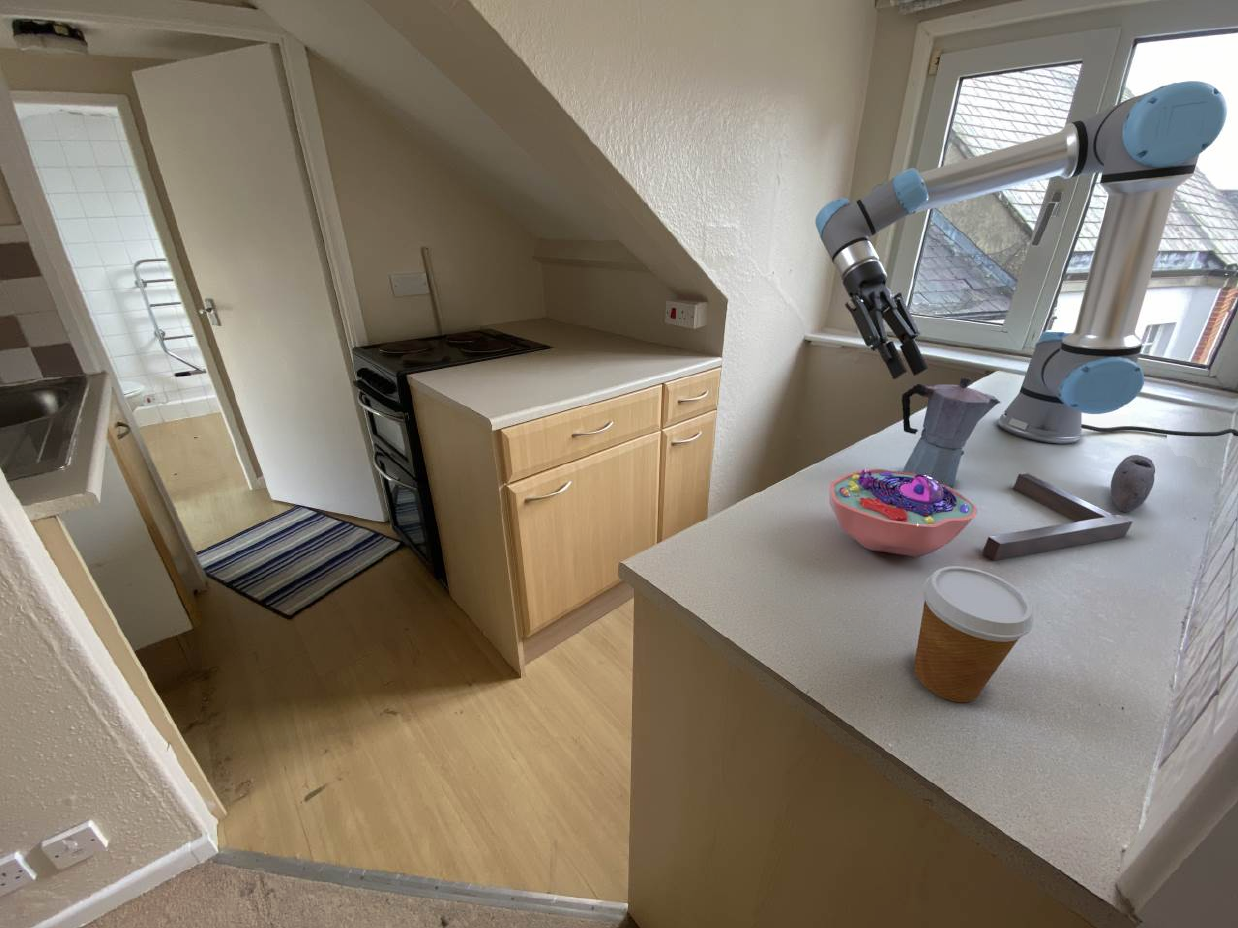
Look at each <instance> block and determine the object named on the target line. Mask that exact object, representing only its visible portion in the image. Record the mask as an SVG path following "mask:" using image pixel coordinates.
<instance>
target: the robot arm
mask: <svg viewBox="0 0 1238 928" xmlns="http://www.w3.org/2000/svg"><path fill="white" fill-rule="evenodd" d="M1227 115H1228V107H1227V102H1226V99H1225V97H1224V95H1223V94H1222V92H1221V91H1219V90H1218V88H1216V87H1215V86H1214V85H1213V84H1211V83H1207V82H1204V81H1197V80H1189V81H1181V82H1173V83H1170V84H1167V85H1162V86H1159V87H1156V88H1154V89H1153V90H1151V91H1147V92H1145V93H1142V94H1140V95H1137V96H1134V97H1130V98H1128V99H1126V100H1124V101H1122V102H1120V103H1117V104H1115V105H1113V106H1111V107H1108V108H1106V109H1105V110H1102V111H1100V112H1098V113H1095V114H1092V115H1090V116H1087V117H1085V118H1081V119H1079V120H1076V121H1071V122H1068V123H1066V124H1065V125H1064V126H1063V127H1062V129H1060V130H1059V131H1057V132H1054V133H1051V134H1048V135H1044V136H1041V137H1037V138H1034V139H1030V140H1027V141H1024V142H1021V143H1017V144H1014V145H1010V146H1007V147H1004V148H1000V149H997V150H994V151H990V152H987V153H983V154H980V155H976V156H974V157H973V156H972V157H969V158H966V159H963V160H959V161H956V162H952V163H949V164H946V165H942V166H939V167H935V168H932V169H929V170H926V171H922V172H919V171H918V170H917V168H914V167H911V168H908V169H906V170H905V171H903V172H901V173H898V174H896V175H895V176H893V177H892V178H891V179H889V180H888V181H886V182H883V183H880V184H877V185H876V186H875V187H873V188H872V190H871V191H870V192H868V194H866V195H865V196H863V197H861V198H859V199H857V200H856V201H853V202H850V200H849V199H848V198H846V197H840V198H837V199H836V200H831V201H830V202H828V203H827V204H825V205H824V206H822V208H821V209H820V210H819V211H818V213H817V214H816V217H815V222H814V223H815V227H816V230H817V232H818V235H819V238H820V240H821V242H822V244H823V246H824V248H825V250H826V252H827V253H828V256H829V258H830V260H831V262H832V264H833V265H834V267H835V269H836V271H837V274H838V276H839V278H840V280H841V281H842V285H843V288H844V289H845V291H846V293H847V296H848V297H849V298H850V299H849V300H848V301H846V302H845V304H844V306H845V308H846V309H847V310H848V312H849V313H850V314H851V316H852V318H853V320H854V322H855V325H856V327H857V330H858V331H859V334H860V335H861V337H862V340H863V342H864V344H865V346H867V347H868V348H869V347H870V349H871V351H873V352H875V351H878V353H879V355H880V357H881V360H882V361H883V362H884V363H885V365H886V367H887V370H888V372H889V374H890V375H891V378H892V380H896V379H898V378H899V377H901V376H902V375H904V374H906V373H907V372H908V370H907V368H906V366H905V364H904V361H903V360H902V358H901V355H900V353H899V351H898V349H897V348H896V345H895V343H894V341H893V340H891V341H889V337H888V334H887V331H886V327H885V323H884V322H886V324H887V326H888V327H889V328H890V329H891V331H892V333H893V334H894V336H896V338H897V340H898V341H899V342H900V343H901V345H900V346H899V349H900V350H901V353H902V354H903V356H904V359H905V360H906V363H907V365H908V367H909V369H910V371H911V373H912V375H913V377H914V376H915V377H916V376H918V375H919V374H921V373H923V372H924V371H926V370H929V367H928V365H927V364H926V361H925V359H924V357H923V355H922V352H921V350H920V348H919V346H918V343H917V342H916V338H918V337H919V336H920V335H921V331H920V329H919V327H918V325H917V323H916V321H915V320H914V318H913V315H912V314H911V311H910V310H909V308H908V306H907V304H906V301H905V296H904V294H903V292H900V291H899V292H898V293H896V294H894V293H892V291H891V290H890V289H889V288H888V287H887V286H886V282H887V281H888V274H887V272H886V270H885V268H884V266H883V264H882V262H881V261H879V259H880V257H879V256H878V254H877V252H876V250H875V248H874V246H873V245H872V242H871V240H870V239H869V238H871V237H872V236H874V235H876V234H877V233H880V232H881V231H882V230H885V229H886V228H888V227H890V226H892V225H893V224H895V223H896V222H899V221H900V220H901V219H903V218H905V217H907V216H911V215H913V214H917V213H921V212H924V211H928V210H931V209H936V208H940V207H943V206H947V205H952V204H955V203H959V202H963V201H967V200H970V199H975V198H978V197H981V196H982V197H983V196H986V195H988V194H993V193H997V192H1000V191H1005V190H1009V189H1012V188H1016V187H1019V186H1024V185H1028V184H1031V183H1035V182H1039V181H1043V180H1046V179H1051V178H1054V177H1058V176H1059V177H1061V178H1063V179H1065V180H1067V179H1071V178H1075V177H1080V176H1083V175H1089V174H1090V175H1091V174H1098V173H1101V175H1100V181H1099V187H1100V188H1101V189H1102V190H1103V191H1105V192H1106V196H1107V198H1106V201H1105V205H1104V208H1103V209H1104V210H1103V214H1102V218H1101V222H1100V227H1099V231H1098V234H1097V238H1096V242H1095V246H1094V250H1093V255H1092V258H1091V261H1090V262H1091V263H1090V265H1089V266H1090V267H1089V270H1088V274H1087V278H1086V283H1085V287H1084V291H1083V294H1082V299H1081V303H1080V306H1079V307H1080V308H1079V311H1078V315H1077V320H1076V324H1075V327H1074V330H1060V329H1048V330H1045V331H1042V333H1040V335H1039V338H1038V340H1037V342H1036V343H1035V345H1034V346H1035V347H1034V350H1033V352H1032V356H1031V359H1030V362H1029V364H1028V367H1027V369H1026V372H1025V375H1024V378H1023V381H1022V383H1021V386H1020V389H1019V392H1018V394H1017V395H1016V396H1015V397H1014V398H1013V400H1012V401H1011V403H1010V404H1009V405H1008V406H1007V407H1006V408H1005V410H1004V411H1003V412H1002V413H1001V415H1000V416H999V420H998V426H999V427H1000V428H1001V429H1003V430H1004V431H1005V432H1008V433H1009V434H1013V435H1015V436H1018V437H1021V438H1023V439H1024V438H1025V439H1027V440H1032V441H1036V442H1041V443H1049V444H1060V445H1061V444H1062V445H1063V444H1071V443H1072V444H1073V443H1076V442H1078V441H1079V440H1080V437H1081V435H1082V431H1083V430H1088V431H1092V432H1099V433H1112V432H1120V431H1121V432H1123V431H1136V432H1145V433H1152V434H1160V435H1167V436H1168V435H1169V436H1178V437H1179V436H1180V437H1220V436H1224V435H1227V434H1232V436H1234V437H1238V430H1237V429H1236V428H1226V429H1223V430H1220V431H1182V430H1181V431H1180V430H1170V429H1161V428H1156V427H1155V428H1153V427H1147V426H1136V425H1121V426H1113V427H1098V426H1094V425H1088V424H1084V423H1082V422H1083V420H1082V418H1083V417H1082V414H1086V415H1087V414H1088V415H1102V414H1109V413H1112V412H1114V411H1118V410H1119V409H1120V408H1123V407H1124V406H1126V405H1129V404H1130V403H1131V402H1133V401H1134V400H1135V399H1136V398H1137V397H1138V395H1139V394H1140V393H1141V392H1142V390H1143V388H1144V385H1145V374H1144V371H1143V368H1142V367H1141V366H1140V365H1139V364H1138V362H1139V361H1138V360H1139V358H1140V354H1141V352H1142V348H1143V343H1144V342H1143V340H1142V339H1141V338H1140V337H1139V336H1138V335H1137V334H1136V328H1137V325H1138V322H1139V318H1140V315H1141V311H1142V307H1143V305H1144V301H1145V297H1146V295H1147V290H1148V287H1149V283H1150V280H1151V277H1152V273H1153V270H1154V266H1155V264H1156V260H1157V256H1158V253H1159V249H1160V246H1161V243H1162V239H1163V236H1164V232H1165V229H1166V226H1167V222H1168V219H1169V215H1170V211H1171V207H1172V205H1173V201H1174V198H1175V194H1176V191H1177V189H1178V188H1179V187H1180V186H1181V185H1182V184H1184V183H1185V182H1186V181H1188V180H1189V179H1190V178H1192V177H1193V176H1194V173H1195V170H1196V166H1197V164H1198V160H1199V157H1200V154H1202V153H1203V152H1204V151H1205V150H1207V149H1208V147H1210V146H1211V145H1212V144H1213V143H1214V142H1215V141H1216V140H1217V138H1218V137H1219V135H1220V134H1221V132H1222V130H1223V128H1224V126H1225V123H1226V120H1227Z"/></svg>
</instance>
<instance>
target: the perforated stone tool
mask: <svg viewBox="0 0 1238 928" xmlns="http://www.w3.org/2000/svg"><path fill="white" fill-rule="evenodd" d="M1155 474H1156V467H1155V465H1154V463H1153V460H1152V459H1150V458H1149V457H1146V456H1143V455H1139V454H1132V455H1129V456H1127V457H1125V458H1124V459H1123V460H1122V461H1121V462H1119V464H1117V467H1116V468H1115V470H1114V471H1113V474H1112V476H1111V480H1110V494H1111V499H1112V501H1113V504H1114V506H1115V508H1116V509H1117V510H1119V511H1121V512H1126V513H1127V512H1132V511H1134V510H1136V509H1138V508H1139V507H1141V506H1142V505H1143V504H1144V503H1145V502H1146V500H1147V499H1148V497H1149V495H1150V494H1151V492H1152V489H1153V486H1154V484H1155Z"/></svg>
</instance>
